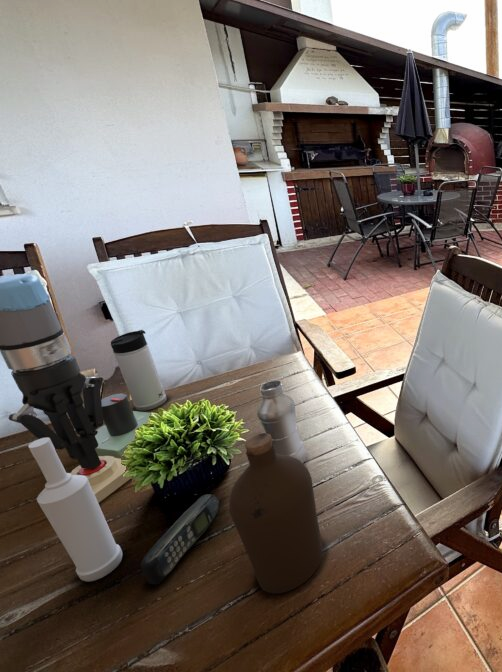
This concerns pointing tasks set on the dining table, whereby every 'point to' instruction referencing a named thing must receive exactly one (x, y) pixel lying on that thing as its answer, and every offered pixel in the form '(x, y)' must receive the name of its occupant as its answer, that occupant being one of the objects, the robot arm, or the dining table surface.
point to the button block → (106, 477)
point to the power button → (90, 471)
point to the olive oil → (276, 517)
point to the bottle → (75, 515)
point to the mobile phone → (179, 539)
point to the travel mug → (138, 370)
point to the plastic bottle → (280, 420)
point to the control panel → (117, 438)
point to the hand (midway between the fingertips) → (91, 465)
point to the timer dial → (118, 415)
